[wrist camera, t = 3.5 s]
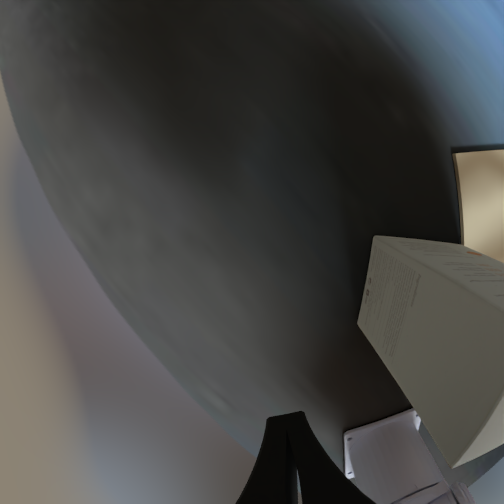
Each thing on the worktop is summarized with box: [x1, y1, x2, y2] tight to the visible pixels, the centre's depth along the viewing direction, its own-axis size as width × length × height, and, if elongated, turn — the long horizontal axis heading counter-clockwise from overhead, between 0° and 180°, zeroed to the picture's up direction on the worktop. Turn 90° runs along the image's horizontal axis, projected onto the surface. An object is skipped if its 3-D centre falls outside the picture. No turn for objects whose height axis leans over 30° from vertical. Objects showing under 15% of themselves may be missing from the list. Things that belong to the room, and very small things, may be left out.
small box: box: [357, 235, 504, 469], centre depth 12 cm, size 8×6×13 cm
